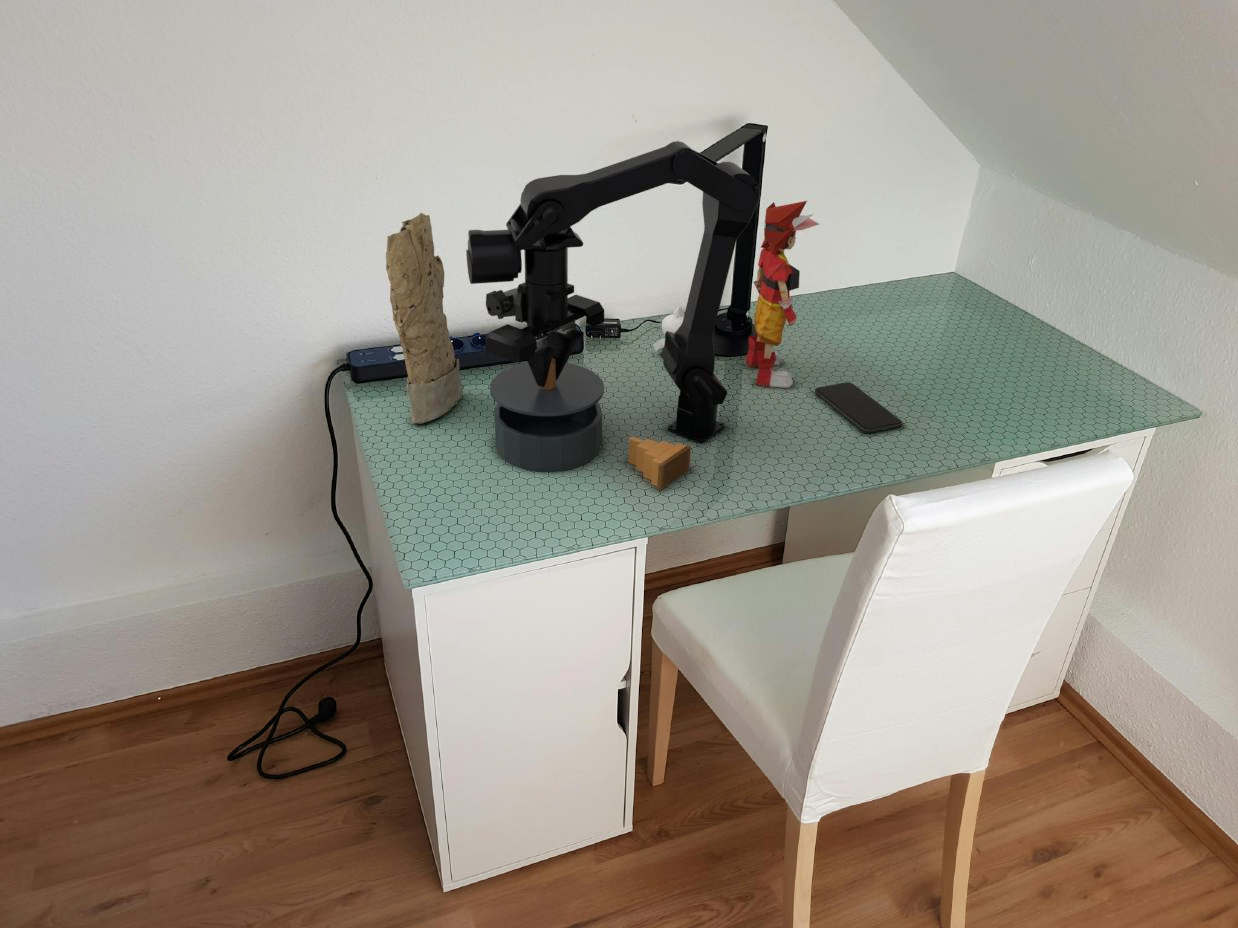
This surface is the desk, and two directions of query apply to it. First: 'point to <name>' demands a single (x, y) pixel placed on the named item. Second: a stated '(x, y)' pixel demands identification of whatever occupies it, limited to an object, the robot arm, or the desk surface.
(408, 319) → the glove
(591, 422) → the pan
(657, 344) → the figurine
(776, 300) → the toy
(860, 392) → the smartphone
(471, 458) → the desk surface
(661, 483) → the tan stepped block
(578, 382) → the pan lid
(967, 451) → the desk surface
